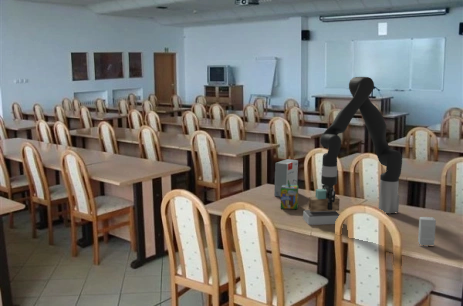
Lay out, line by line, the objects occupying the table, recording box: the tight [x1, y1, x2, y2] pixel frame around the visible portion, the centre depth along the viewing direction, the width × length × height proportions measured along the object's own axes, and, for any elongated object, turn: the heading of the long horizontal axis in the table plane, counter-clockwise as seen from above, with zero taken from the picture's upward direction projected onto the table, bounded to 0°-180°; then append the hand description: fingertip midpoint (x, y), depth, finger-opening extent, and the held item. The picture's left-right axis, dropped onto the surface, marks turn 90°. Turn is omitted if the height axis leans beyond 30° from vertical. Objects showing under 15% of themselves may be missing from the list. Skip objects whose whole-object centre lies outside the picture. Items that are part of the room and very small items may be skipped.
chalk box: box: [280, 180, 299, 210], centre depth 272 cm, size 9×9×15 cm
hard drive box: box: [273, 158, 299, 198], centre depth 298 cm, size 16×8×20 cm, turn 147°
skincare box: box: [417, 216, 437, 246], centre depth 217 cm, size 6×4×12 cm
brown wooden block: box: [308, 195, 340, 212], centre depth 248 cm, size 14×5×6 cm, turn 97°
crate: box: [314, 188, 326, 199], centre depth 247 cm, size 4×4×4 cm
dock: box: [302, 209, 341, 226], centre depth 249 cm, size 16×10×4 cm, turn 97°
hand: (328, 208), depth 249 cm, fingers closed on brown wooden block, 5 cm apart
